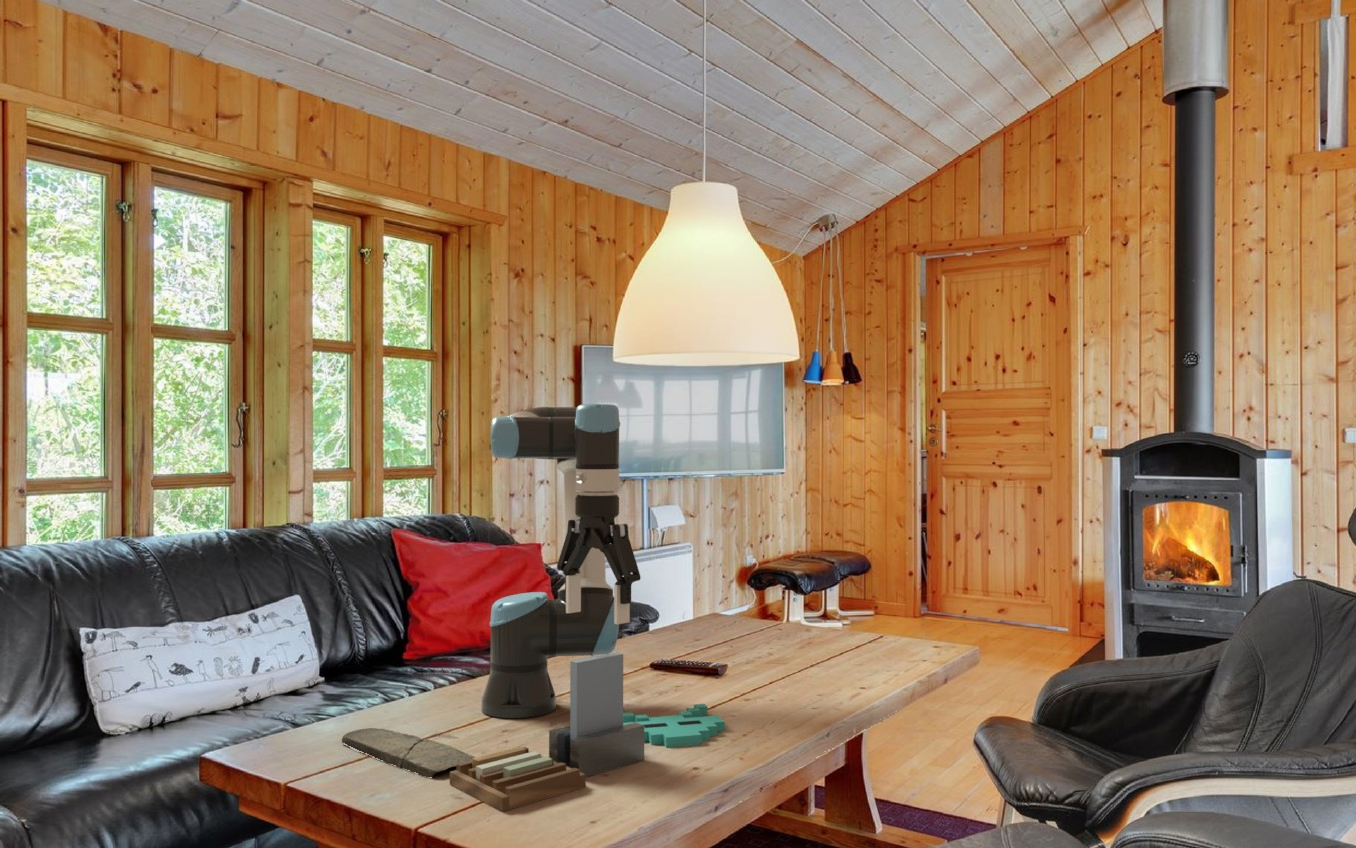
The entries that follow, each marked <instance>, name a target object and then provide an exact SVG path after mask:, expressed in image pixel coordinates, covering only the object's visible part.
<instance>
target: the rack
mask: <svg viewBox="0 0 1356 848" xmlns="http://www.w3.org/2000/svg"><path fill="white" fill-rule="evenodd" d="M522 748H524V749H526V753H529V752H532V751H529V750H530V749H529V748H528V747H526V746H523V747H522ZM539 753H540V752H539ZM540 754H541V753H540ZM542 757H544V756H543V755H542V754H541V758H542ZM547 757H548V758H550V757H549V756H547ZM551 759H552V765H550V766H546V767H543V768H539V769H535V770H532V771H528V772H524V773H520V774H517V775H513V776H509V777H506V778H503V769H502V770H498V771H494V772H490V773H486V774H482V775H480V781H478V780H476V768H472V760H470V761H466V762H462V763H458V764H457V766H455V767H456V769H455V770H452V771H449V785H450V784H451V785H450V786H452V787H454V788H456V787H457V788H456V789H457V790H460V791H461V790H462V791H461V792H463V791H464V793H466V794H468V795H469V796H471V797H473V796H474V797H473V798H475V799H478V800H479V801H481V802H483V803H484V804H487V805H489V806H491V807H493V808H494V809H496V810H498V811H500V812H507V811H509V810H513V809H516V808H519V807H523V806H526V805H530V804H533V803H537V802H540V801H543V800H547V799H550V798H554V797H557V796H561V795H563V794H567V793H570V792H573V791H577V790H580V789H583V788H586V786H587V785H586V784H587V783H586V781H587V780H586V779H587V777H586V774H584V773H581V772H580V770H579V769H577V768H573V769H572V768H569V767H567V766H566V764H565V763H562V762H561V763H557V762H555V761H553V758H551Z"/></svg>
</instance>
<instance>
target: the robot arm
mask: <svg viewBox="0 0 1356 848" xmlns="http://www.w3.org/2000/svg"><path fill="white" fill-rule="evenodd" d="M490 425H491V428H490V446H491V447H490V452H491V455H492V456H493V457H494V458H498V459H507V460H512V459H537V460H555V461H556V468H557V469H558V470H559V472H561V473H562V474H563V476H564V477H563V480H564V481H563V484H564V485H563V486H564V487H563V488H564V491H563V492H564V497H563V499H564V542H563V545H562V548H561V551H560V554H559V558H558V562H557V564H556V568H557V570H558V571H562V573H563V574H562V575H564V579H565V580H564V584H563V585H562V586H561V587H560V588H559V589H558V590H557V598H556V599H549V596H548V593H547V592H544V591H536V592H535V591H531V592H524V593H517V594H513V595H508V596H505V597H500V599H497V600H496V601H495V602H494V603H493V604H492V605H491V612H490V621H489V627H490V668H489V669H490V672H489V676H488V678H487V682H486V685H485V688H484V692H483V695H482V698H481V711H482V713H483V714H485V715H487V716H490V717H494V718H500V719H501V718H503V719H524V718H525V719H526V718H533V717H534V718H535V717H539V716H543V715H547V714H549V713H551V712H553V711H554V710H556V707H557V695H556V692H555V688H554V687H553V683H552V680H551V677H550V674H549V671H548V670H549V669H548V659H549V657H550V658H551V657H577V656H578V657H581V656H590V657H595V656H600V655H606V654H611V653H612V652H613V651H614V650H615V649H616V646H617V641H618V635H619V628H620V625H622V624H627V623H629V624H630V623H631V621H630V620H631V618H630V617H631V613H630V610H631V609H630V607H631V603H632V602H631V601H632V585H633V583H635V582H637V581H638V582H639V581H641V577H642V576H641V573H640V570H639V567H638V564H637V560H636V557H635V554H634V550H633V547H632V543H631V541H630V540H631V539H630V537H629V527H628V523H618V524H616V523H615V518H616V517H618V516H619V515H620V497H619V495H618V494H617V493H618V492H619V491H620V461H619V459H620V427H621V422H620V410H619V407H618V406H617V405H615V404H612V403H610V404H608V403H586V404H579V405H578V406H571V407H570V406H563V407H561V406H554V407H553V406H552V407H551V406H539V407H532V408H527V409H523V410H519V411H517V412H516V411H515V412H514V413H512V414H510V415H506V416H496V417H493V418H492V420H491V424H490ZM606 561H607V563H608V565H609V566H610V569H611V571H612V573H613V575H614V577H615V580H616V582H615V583H614V584H613V586H614V587H612V586H611V585H610V584H609V583H608V582H607V581H606V578H607V577H606Z"/></svg>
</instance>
